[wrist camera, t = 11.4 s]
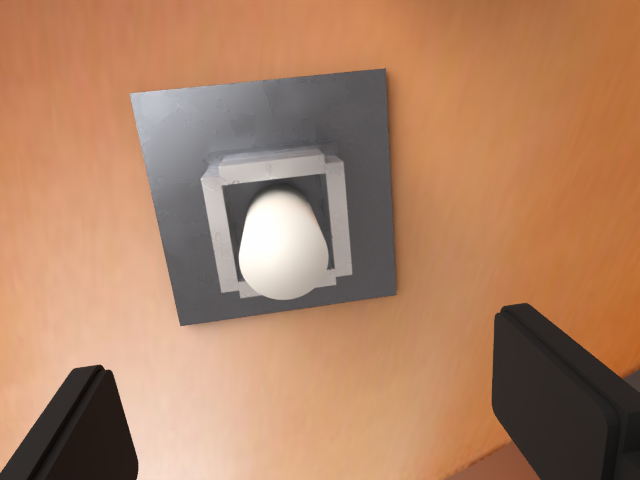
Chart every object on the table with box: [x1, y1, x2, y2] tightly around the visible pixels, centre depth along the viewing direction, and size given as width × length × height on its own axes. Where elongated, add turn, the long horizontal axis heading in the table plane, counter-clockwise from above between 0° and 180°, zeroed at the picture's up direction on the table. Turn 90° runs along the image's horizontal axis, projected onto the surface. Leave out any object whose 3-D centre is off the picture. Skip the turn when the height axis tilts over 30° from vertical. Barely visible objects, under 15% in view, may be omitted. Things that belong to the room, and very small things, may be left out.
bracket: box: [130, 68, 396, 326], centre depth 28 cm, size 16×16×7 cm
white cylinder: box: [239, 184, 329, 300], centre depth 24 cm, size 4×4×8 cm
